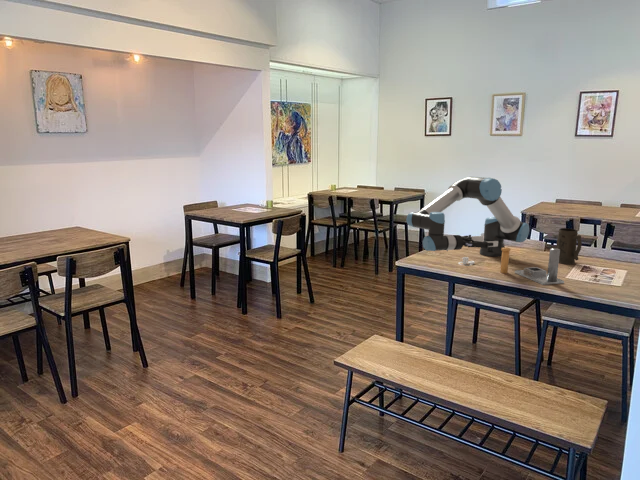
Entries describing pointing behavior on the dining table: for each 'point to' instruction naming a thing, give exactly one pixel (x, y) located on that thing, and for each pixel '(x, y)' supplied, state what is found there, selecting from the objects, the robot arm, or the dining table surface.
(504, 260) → the orange cylinder
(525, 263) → the dining table surface
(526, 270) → the grey upright stand
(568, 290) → the dining table surface
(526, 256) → the dining table surface
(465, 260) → the teacup and saucer
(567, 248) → the beer stein
